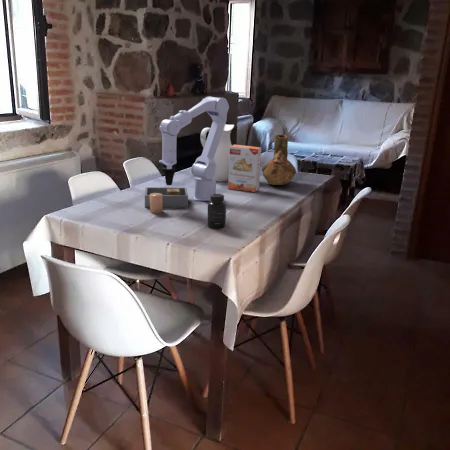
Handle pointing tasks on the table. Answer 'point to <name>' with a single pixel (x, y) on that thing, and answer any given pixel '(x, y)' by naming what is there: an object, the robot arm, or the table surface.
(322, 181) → the table surface
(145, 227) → the table surface
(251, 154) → the cracker box
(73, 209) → the table surface
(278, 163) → the ceramic vessel
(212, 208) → the supplement bottle
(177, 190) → the cube
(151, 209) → the peach rounded capsule
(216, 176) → the pitcher
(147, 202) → the tote
